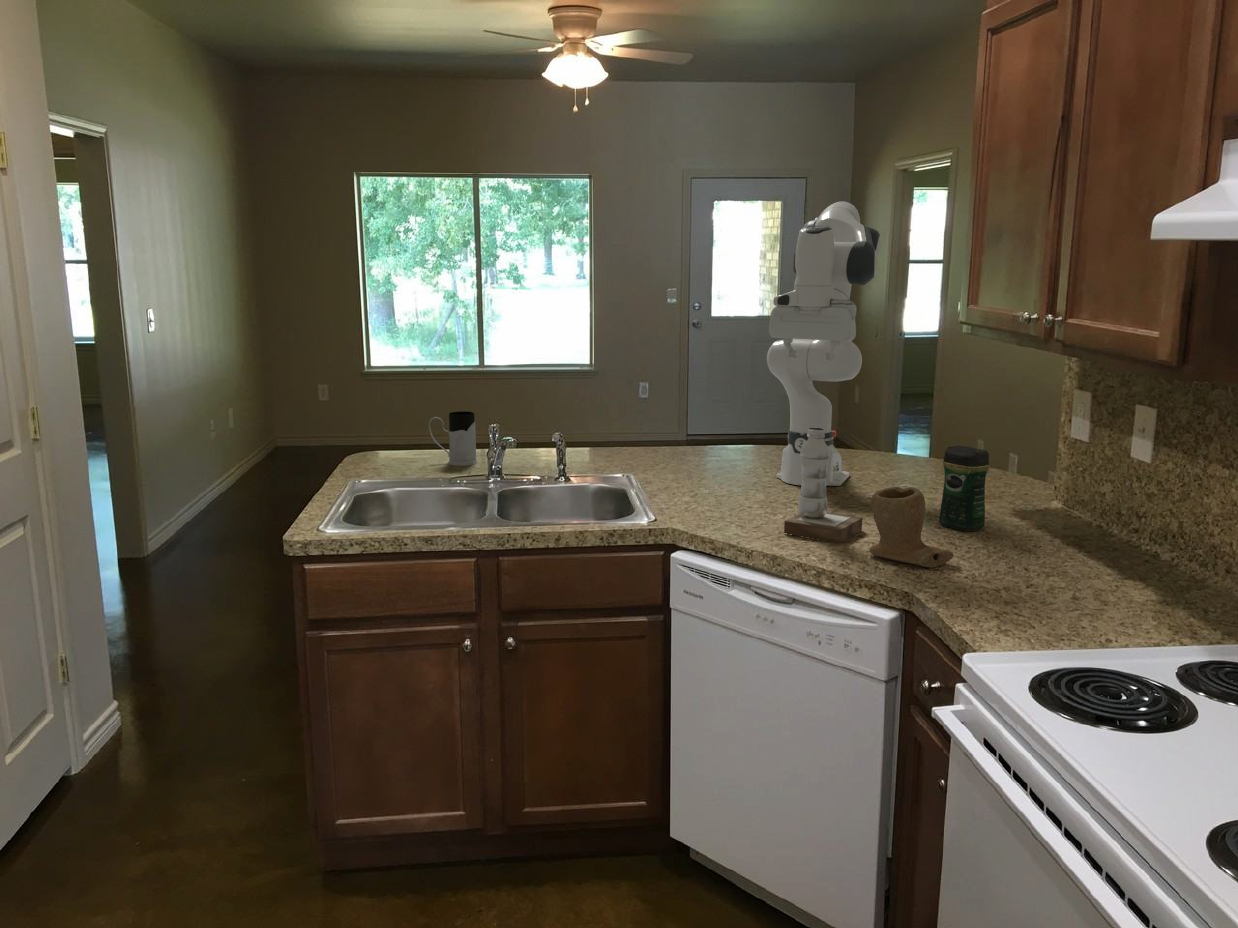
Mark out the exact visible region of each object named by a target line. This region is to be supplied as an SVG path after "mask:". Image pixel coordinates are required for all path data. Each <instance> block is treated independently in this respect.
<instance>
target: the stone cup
mask: <svg viewBox="0 0 1238 928" xmlns="http://www.w3.org/2000/svg"><path fill="white" fill-rule="evenodd" d="M925 499H926V498H925V497H924V494H923V493H922V492H921V490H919V489H918V488H916V487H912V486H910V487H906V488H905V487H904V488H903V487H899V486H892V487H886V488H882V489H880V490H878V491H876V492H874V494H873V495H872V497H871V502H870V505H871V512H872V516H873V519H874V523H875V525H876V528H877V530H878V534H879V536H880V537H879V542H878V543H876V544H874V545H872V546H870V548H869V550H868V551H869V553H870V554H871V555H874V556H876V557H880V558H882V559H887V560H892V561H896V562H900V563H906V564H909V565H915V566H920V567H925V568H936V567H941V566H942V565H944V564H946V563H949V561H951V560H952V559H953V558H954V552H953V551H949V550H945V549H941V548H938V547H934V546H929V545H926V544H925V543H924V542H923V541H922V530H923V527H924V522H925V521H924V520H925V517H926V500H925Z"/></svg>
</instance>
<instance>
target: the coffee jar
mask: <svg viewBox="0 0 1238 928" xmlns="http://www.w3.org/2000/svg"><path fill="white" fill-rule="evenodd" d="M942 464H943V468H944V483H943V490H942V499H941V504H940V510H939V515H938V516H939V517H938V522H939V524H940V525H942V526H944V527H947V528H950V529H955V530H958V531H973V532H976V531H979V530H981V529H983V528H984V527H985V526H986V525H985V524H986V523H985V522H986V521H985V520H986V502H985V501H986V499H985V498H986V497H985V495H986V494H985V493H986V491H985V489H986V477H987V474H988V472H989V468H990V454H989V452H988V451H987V449H981V448H977V447H971V446H966V445H951V446H948V447H946V449H945V452H944V456H943V460H942Z"/></svg>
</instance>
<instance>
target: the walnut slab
mask: <svg viewBox="0 0 1238 928" xmlns="http://www.w3.org/2000/svg"><path fill="white" fill-rule="evenodd" d="M783 524H784V525H783V534H784V533H787V534H792V535H797V536H796V537H798V536H803V537H802V538H804V537H809V538H814V539H813V540H815V539H819V540H818V541H821V540H825V541H824V542H827V541H828V543H833V542H834V544H841V543H843V542H845V541H847V540H848V539H850V538H853V536H855V535H857V534H858V533H860V532H862V530H863V517H861V516H855V515H847V514H841V513H834V512H828V511H827V513H826V514H825V516H823V517H818V518H811V517H806V516H803V515H801V514H800V513H798V514H796V515H794V516H792V517H790V518H788V519H785V520H784V523H783ZM856 533H857V534H856ZM792 535H791V536H792ZM809 538H808V539H809Z"/></svg>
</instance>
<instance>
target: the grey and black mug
mask: <svg viewBox="0 0 1238 928" xmlns="http://www.w3.org/2000/svg"><path fill="white" fill-rule="evenodd" d="M435 419H438V420H439V421H440V422H441V424H442V430H443V431H444V432H446V433H448V448H449V450H447V449H446V448H444V447H443V446H442V445H440V444H439V442H438V441H437V440H436V439H435V437H434V436H433V433H432V429H431V422H432V420H435ZM448 427H449V428H448V429H449V430H446V428H445V423H444V421H443V419H442V418H440V417H438V416H434V417H432V418H430V420H429V423H428V431H429V433H430V436H431V439H432V440H433V442H434V443H435V444H436V445H437V446H438V447H439V448H441V449H442V450H443V451H444V452H446V453H447V455H448V458H449V460H448V462H447V463H448V465H451V466H457V467H458V466H459V467H461V466H462V467H463V466H465V467H467V466H473V465H477V464H478V463H479V462H478V460H477V445H476V443H477V442H476V440H477V439H476V438H477V437H476V436H477V435H476V434H477V433H476V420H475V412H473V411H464V410H463V411H462V410H460V411H451V412H448Z"/></svg>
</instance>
